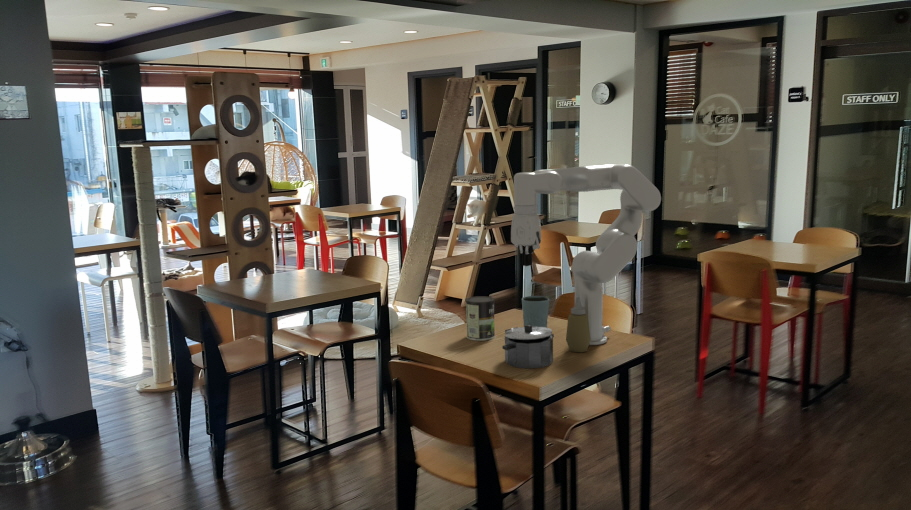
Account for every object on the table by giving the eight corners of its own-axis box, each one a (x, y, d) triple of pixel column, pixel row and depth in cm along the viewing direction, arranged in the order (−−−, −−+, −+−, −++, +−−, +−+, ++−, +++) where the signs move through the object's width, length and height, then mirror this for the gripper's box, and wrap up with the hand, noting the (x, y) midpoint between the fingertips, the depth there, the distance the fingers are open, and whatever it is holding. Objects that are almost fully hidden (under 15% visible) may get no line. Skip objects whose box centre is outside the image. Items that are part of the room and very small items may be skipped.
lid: (527, 327, 237) (526, 318, 236) (562, 333, 224) (561, 324, 224) (493, 335, 227) (493, 326, 227) (528, 342, 215) (527, 333, 215)
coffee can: (496, 333, 260) (496, 296, 258) (492, 341, 250) (491, 302, 248) (469, 332, 262) (468, 295, 260) (464, 340, 252) (463, 302, 250)
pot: (534, 349, 239) (534, 326, 238) (568, 359, 227) (568, 335, 226) (488, 362, 227) (487, 338, 225) (521, 373, 215) (521, 348, 213)
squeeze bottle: (585, 355, 231) (585, 301, 228) (562, 351, 235) (561, 299, 233) (594, 348, 238) (594, 296, 235) (571, 345, 242) (571, 294, 239)
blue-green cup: (517, 331, 262) (516, 299, 260) (529, 325, 270) (529, 294, 268) (542, 334, 256) (542, 302, 254) (553, 328, 265) (553, 296, 263)
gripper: (502, 210, 235) (503, 264, 238) (534, 212, 224) (535, 269, 227) (518, 208, 240) (519, 261, 243) (550, 210, 228) (551, 266, 231)
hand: (527, 265), depth 235 cm, fingers closed
